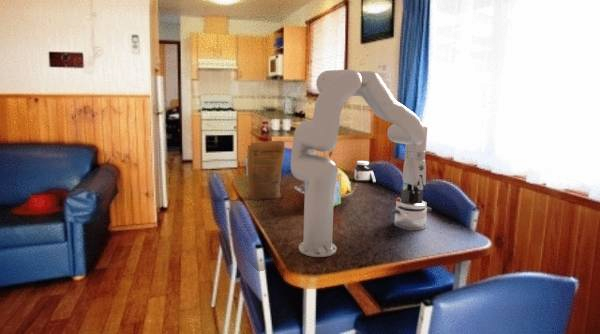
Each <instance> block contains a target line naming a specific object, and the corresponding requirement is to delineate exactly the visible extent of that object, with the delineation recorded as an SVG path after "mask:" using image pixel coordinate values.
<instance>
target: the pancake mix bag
mask: <svg viewBox="0 0 600 334" xmlns="http://www.w3.org/2000/svg"><path fill="white" fill-rule="evenodd" d="M285 146H286V145H285V141H283V140H273V141H264V142H263V141H262V142H251V143H249V145H247V150H246V151H247V152H246V153H247V154H246V169H247V170H246V171H247V172H246V175H247V186H248V199H247V200H251V201H263V200H272V199H273V200H274V199H275V200H277V199H279V198H281V192H280V191H281V189H280V186H281V181H282V179H281V178H282V168H283V162H284V154H285Z"/></svg>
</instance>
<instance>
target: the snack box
mask: <svg viewBox="0 0 600 334" xmlns="http://www.w3.org/2000/svg"><path fill="white" fill-rule="evenodd" d="M308 186H309V183H307V182H304V194H305V193H306V191H307V189H308ZM341 201H342V172H338V176H337V180H336V185H335V190H334V203H333V207H335V206H338V205H341V204H342V202H341Z"/></svg>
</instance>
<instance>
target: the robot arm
mask: <svg viewBox="0 0 600 334" xmlns="http://www.w3.org/2000/svg"><path fill="white" fill-rule="evenodd" d="M315 85H316V90H317V91H318V93H319V95H318V96H317V98H316V101H315V104H314V108H313V113H312V119H311V120H309V119H307V120H303V121H301V122H300V123H299V124H298V125H297V126H296V128H295V130H294V131H293V132H294V133H293V135H292V136H293V137H292V144H291V145H292V147H291V155H290V156H291V157H290V171H291V172H290V173H291V174H292V176H293V177H294V178H295V179H297V180H299V181H302V182H304V183H305V182H307V183H309V186H308V189H307V191H306V193H305V192H304V200H303V203H304V204H303V205H304V206H303V207H304V208H303V241H302V242H300V244H298V250H299V252H300V253H301V254H303V255H305V256H309V257H312V258H325V257H326V258H327V257H330V256H333V255H334V254H336V252H337V249H338V248H337V246H336V245H335V244H334V242H333V228H334V227H333V225H334V206H333V203H334V190H335V185H336V180H337V176H338V170H339V168H338V167H337V164H336V162H335V161H334V160H332V159H331V158H329V157H326V156H322V155H318V154H316V153H317V152H320V153H328V152H332V151H333V150H334V149H335V148H336V146H337V143H338V136H339V128H340V120H341V113H342V110H343V107H344V105H345V104H346V102H347V101H348V100H349V99H350V98H351V97H361V98H363V100H364V101H365V103H366V104H367V106H369V108H370V109H371V111H372V112H373V113H374V115H375V116H376V117H378V118H380V119H381V120H383V121H386V122H388V123H391V125H390V126H389V127H388V128H387V133H386V134H387V138H388V139H389V140H390V141H391V142H392V143H396V144H402V145H403V144H404V145H405V149H404V150H405V151H404V162H403V166H402V167H403V168H402V182H403V183H404V186H405V189H412V193H410V203H417V202H418V193H419V192H420V190H423V189H424V186H426V184H427V183H426V182H427V163H426V150H427V137H428V125H427V124H425V123H422V122H421V120H420V118H419V117H418V115H417V114H416V113H414V111H412V110H410V109H409V108H408V107H406V106H405V105H404V104H402V103H401V102H399V101H397V100H396V99H395V98H394V96H393V94H392V93H391V91H390V90H389V88H388V87H387V85H386V83H385V82H384V81H383V79H382V77H380V75H379V74H378V73H376V72H375V71H373V70H372V71H371V70H370V71H369V70H365V71H363V70H362V71H360V70H359V71H356V70H353V69H335V70H334V69H331V70H324V71H322V72H321V73H319V75H318V76H317V78H316V84H315Z"/></svg>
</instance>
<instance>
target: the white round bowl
mask: <svg viewBox="0 0 600 334" xmlns="http://www.w3.org/2000/svg"><path fill="white" fill-rule="evenodd" d="M400 191H401V192H400V197H396V201H395V202H396V203H395V206H396V205H397V206H399V207H402V208H406V209H424V208H426V207H428V206H427V205H428V204H427V203H428V202H426V201H424V200H423V196H424V190H423V189H422V190H420V192H419V193H418V202H417V203H410V193H412V189H404V188H403V189H401V190H400Z"/></svg>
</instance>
